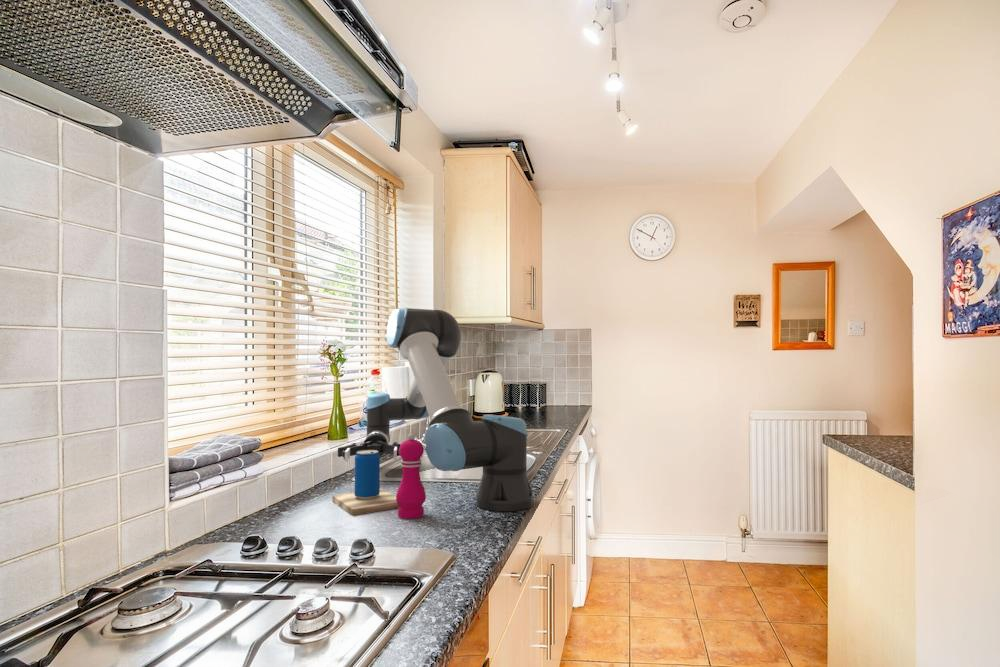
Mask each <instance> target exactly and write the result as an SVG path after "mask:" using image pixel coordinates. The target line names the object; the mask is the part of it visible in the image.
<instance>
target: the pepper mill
mask: <svg viewBox="0 0 1000 667" xmlns="http://www.w3.org/2000/svg"><path fill="white" fill-rule="evenodd" d="M400 444H401V445H400V447H399V454H400V456H399V457H401V460H400V466H401V467H402V477H401V481H400V484H399V486H398V488H397V491H396V494H395V496H396V501H397V503H398V504H399V505H400V507H399V508H397V517H398V518H400V519H403V518H404V520H412V519H414V518H416V519H420V518H422V517H423V516H424V515H425V513H424V512H425V510H424V509H425V507H423V504H424V503H425V502H426V500H427V496H426V494H427V493H426V490H425V488H424V485H423V482H422V480H421V477H420V476H421V474H420V469H421V468H420V467H421V466H422V459H421V458H422V456H423V454H424V446H423V444H422V442H420V441H419V440H417V439H416V436H415V434H414V433H408V435H407V440H404V441H403V442H401V443H400ZM419 517H420V518H419Z"/></svg>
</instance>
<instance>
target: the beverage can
mask: <svg viewBox="0 0 1000 667" xmlns="http://www.w3.org/2000/svg"><path fill="white" fill-rule="evenodd" d="M380 461H381V457H380V455H379V454H378V451H377V450H362V451H357V454H356V455H354V492H355V496H356V497H357V498H358V499H363V500H366V499H373V498H376V497H377V495H379V494H380V489H381V488H380V485H381V484H380V480H381V476H380V474H381V472H380V471H381V469H380V468H381V467H380V466H381V465H380V464H381V462H380Z"/></svg>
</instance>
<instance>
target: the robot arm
mask: <svg viewBox="0 0 1000 667" xmlns="http://www.w3.org/2000/svg"><path fill="white" fill-rule="evenodd" d="M461 341H462V331H461V327H460V325H459V322H458V321H457V320H456V318H455V317H454V316H453V315H451V313H449V312H447V311H445V310H443V309H442V310H441V309H427V308H425V309H422V308H408V307H405V308H404V307H403V308H396V309H393V311H392V312H391V314H390V315H389V317H388V321H387V326H386V343H387V345H388V346H389V347H390V348H392V349H398V352H399V354H400V357H402V358H404V360H406V361H408V362H409V363H408V364H409V366H410V368H411V371H412V373H413V374H412V375H413V376H414V379H413V382H412V384H411V387H410V388H409V390H408V393H407V394H406V396H405V397H402V398H401V397H400V398H398V397H397V398H396V397H395V398H394V397H393V398H391V396H390V394H389V393H387V392H386V393H385V392H384V393H383V392H382V393H381V392H380V393H379V392H378V393H369V394H368V395H367V398H366V399H367V401H366V437H365V439H364V441H363V442H361V443H360V444H359V445H358V443H355V442H353V443H351V444H347V445H343V446H340V447H338V448H337V457H339V458H343V460H344V462H349V460H350V459H351V457H353V456H356V454H357V451H362V450H377V451H378V454H379V455H380V458H381V457H382V456H383V455H393V461H397V459H398V456H399V457H401V456H400V454H399V447H400V445H401V444H402V443H398V442H396V441H394V442H392V443H391V444H390V441H391V435H390V423H391V421H392V422H393V421H406V420H408V421H409V420H420V419H427V418H429V419H430V420H429V422H428V424H427V425H428V426H427V429H426V431H425V433H424V442H423V443H424V444H425V446H424V449H425V453H426V456H427V458H428V460H429V463H431V465H432V466H433V467H434V468H435V469H436V470H439V471H442V472H457V471H458V472H459V471H460V470H462V471H463V470H469V469H476V468H482V474H481V477H480V478H481V479H480V481H479V484H478V489H477V492H476V496H475V505H476V506H477V507H479V508H480V509H484V510H487V511H491V512H492V511H493V512H494V511H495V512H514V511H515V512H517V511H523V510H526V509H529V508H531V507H533V505H534V493H533V491H532V487H531V484H530V481H529V478H528V474H527V473H528V472H527V471H528V470H527V463H528V462H527V455H528V454H527V453H528V450H527V442H528V441H527V438H528V433H527V432H528V431H527V424H526V421H525V420H524V419H523V418H520V417H514V416H506V415H497V414H483V415H482V418H481V420H476V421H474V420H473V417H472V414H471V413H470V411H469V410H468V409H467V408H464V407H462V405H461V404H460V402H459V398H458V396H457V395H456V393H455V392H456V391H455V389H454V387H453V385H452V382H451V380H450V378H449V376H448V373H447V371H446V367H447V365H448V363H449V362H450V359H451V358H453V357H454V356H456V354H457V353H458V350H459V348H460V346H461Z"/></svg>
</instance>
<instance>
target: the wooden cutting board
mask: <svg viewBox="0 0 1000 667" xmlns="http://www.w3.org/2000/svg"><path fill="white" fill-rule="evenodd" d="M333 501H334V502H335V504H336V505H337V504H338V505H337V506H338V507H340V508H341V507H342V508H341V509H343V510H344V511H346V513H348V514H350V515H351V516H356V515H357V516H358V515H361V514H362V515H363V514H368V513H375V512H382V511H387V510H394V509H398V508H399V507H400V505H399V504H398V503H397V501H396V494H393V493H391V492H390V491H387V490H386V489H384V488H380V494H379V495H377V497H376V498H373V499H366V500H363V499H358V498H357V497H356V496H355V491H354V492H348V493H341V494H339V493H338V494H333V495H332V502H333ZM334 502H333V503H334Z"/></svg>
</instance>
